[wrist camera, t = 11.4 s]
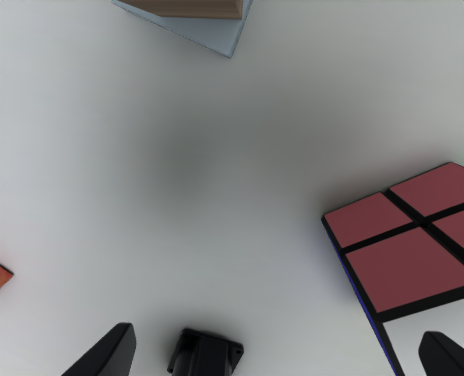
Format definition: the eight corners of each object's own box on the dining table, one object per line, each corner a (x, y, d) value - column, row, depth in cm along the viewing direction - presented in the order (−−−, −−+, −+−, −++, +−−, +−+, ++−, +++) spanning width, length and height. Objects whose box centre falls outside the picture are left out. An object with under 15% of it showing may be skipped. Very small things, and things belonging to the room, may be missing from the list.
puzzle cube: (318, 214, 21) (372, 320, 12) (453, 158, 19) (647, 236, 10) (359, 301, 24) (426, 438, 15) (478, 262, 22) (643, 395, 13)
